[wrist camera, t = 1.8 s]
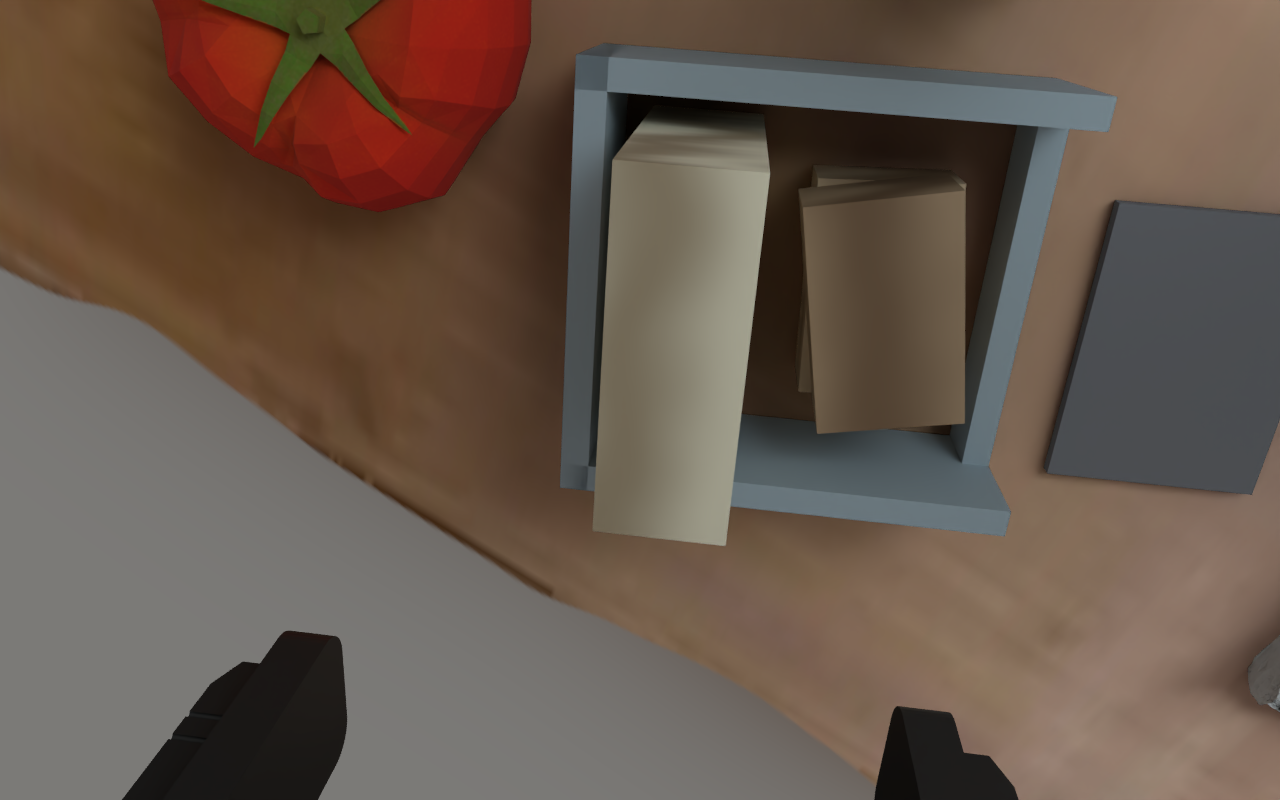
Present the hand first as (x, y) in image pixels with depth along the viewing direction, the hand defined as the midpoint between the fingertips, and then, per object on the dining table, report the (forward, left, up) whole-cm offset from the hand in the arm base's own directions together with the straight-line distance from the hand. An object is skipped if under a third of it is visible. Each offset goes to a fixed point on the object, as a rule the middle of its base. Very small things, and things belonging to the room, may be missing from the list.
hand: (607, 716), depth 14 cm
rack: (-4, 0, -26) cm, 26 cm away
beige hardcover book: (0, 0, -26) cm, 26 cm away
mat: (-19, +2, -26) cm, 32 cm away
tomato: (+12, -8, -26) cm, 30 cm away
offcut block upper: (-7, 0, -23) cm, 24 cm away
